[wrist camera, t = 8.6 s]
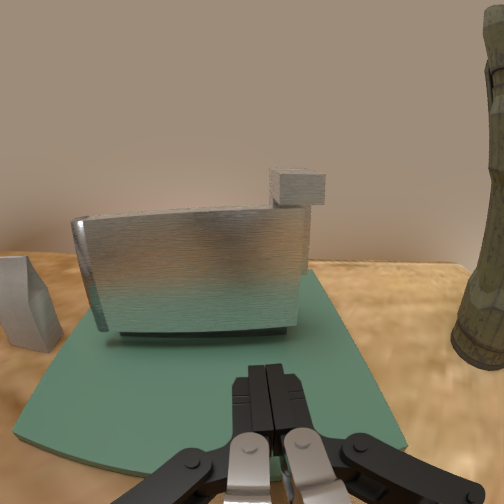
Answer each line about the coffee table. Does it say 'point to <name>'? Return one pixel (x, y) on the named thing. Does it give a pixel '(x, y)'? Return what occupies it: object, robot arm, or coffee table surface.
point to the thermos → (488, 226)
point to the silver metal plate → (192, 268)
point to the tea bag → (26, 306)
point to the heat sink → (202, 377)
